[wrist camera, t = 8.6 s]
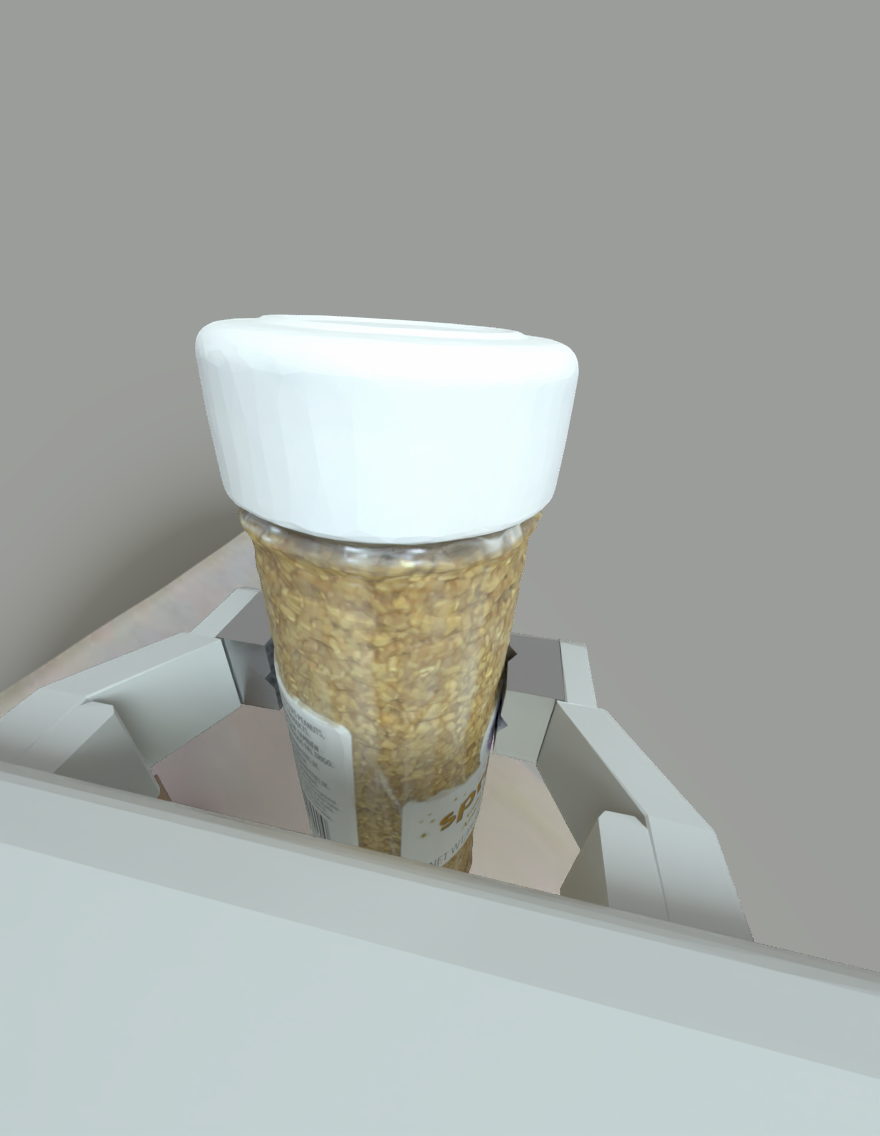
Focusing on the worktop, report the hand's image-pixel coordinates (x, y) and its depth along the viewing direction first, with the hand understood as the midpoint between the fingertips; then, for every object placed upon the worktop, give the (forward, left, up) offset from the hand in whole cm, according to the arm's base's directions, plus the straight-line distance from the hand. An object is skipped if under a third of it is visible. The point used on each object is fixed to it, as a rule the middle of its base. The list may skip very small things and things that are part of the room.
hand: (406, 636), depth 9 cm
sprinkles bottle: (-1, -1, -8) cm, 8 cm away
